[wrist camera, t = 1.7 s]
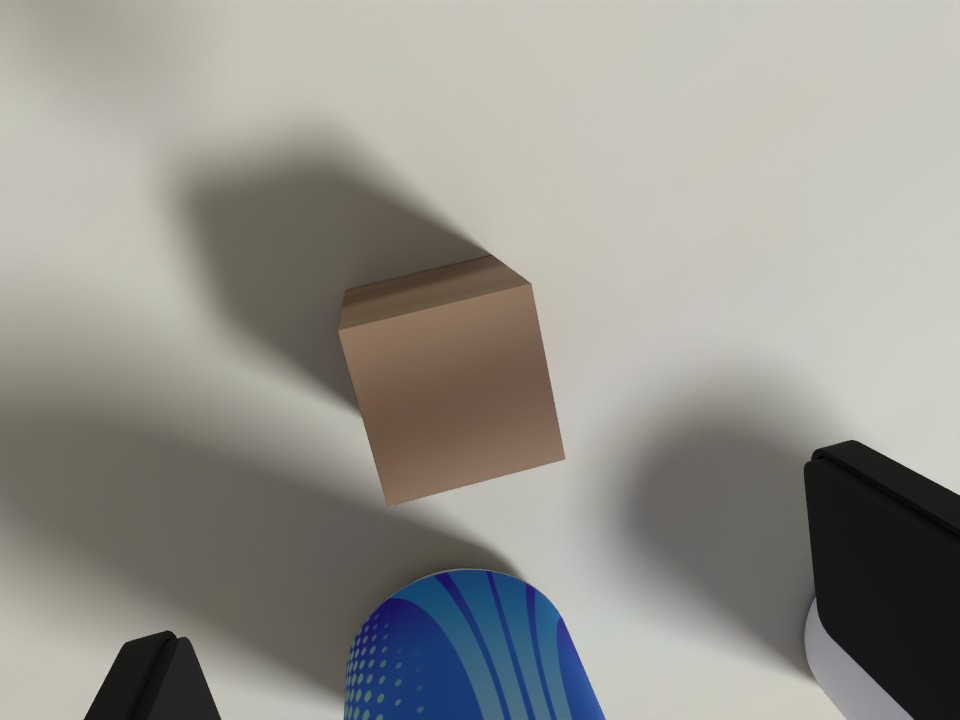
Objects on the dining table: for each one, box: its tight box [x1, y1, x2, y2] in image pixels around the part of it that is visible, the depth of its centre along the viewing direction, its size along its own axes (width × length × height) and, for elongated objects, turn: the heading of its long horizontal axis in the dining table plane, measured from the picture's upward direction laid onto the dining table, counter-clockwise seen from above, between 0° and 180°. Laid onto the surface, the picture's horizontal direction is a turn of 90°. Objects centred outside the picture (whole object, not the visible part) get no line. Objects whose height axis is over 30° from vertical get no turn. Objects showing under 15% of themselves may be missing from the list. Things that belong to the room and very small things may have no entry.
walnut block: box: [338, 255, 565, 507], centre depth 21 cm, size 5×5×6 cm
